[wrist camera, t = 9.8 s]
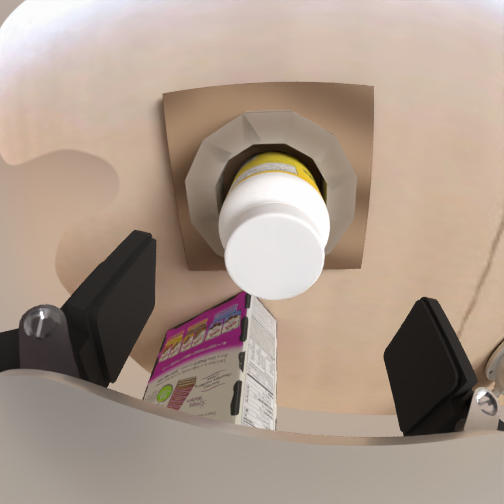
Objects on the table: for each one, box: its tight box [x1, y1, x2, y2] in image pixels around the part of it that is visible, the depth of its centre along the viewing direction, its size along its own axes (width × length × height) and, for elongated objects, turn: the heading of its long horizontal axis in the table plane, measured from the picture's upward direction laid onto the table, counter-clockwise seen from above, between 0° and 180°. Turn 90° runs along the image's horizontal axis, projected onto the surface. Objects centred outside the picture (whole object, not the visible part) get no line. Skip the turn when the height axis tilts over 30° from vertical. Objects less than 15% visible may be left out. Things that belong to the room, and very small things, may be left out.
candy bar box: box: [143, 291, 277, 431], centre depth 22 cm, size 11×5×16 cm, turn 126°
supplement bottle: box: [218, 150, 330, 300], centre depth 16 cm, size 5×5×10 cm
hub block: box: [162, 82, 374, 270], centre depth 19 cm, size 14×14×4 cm
